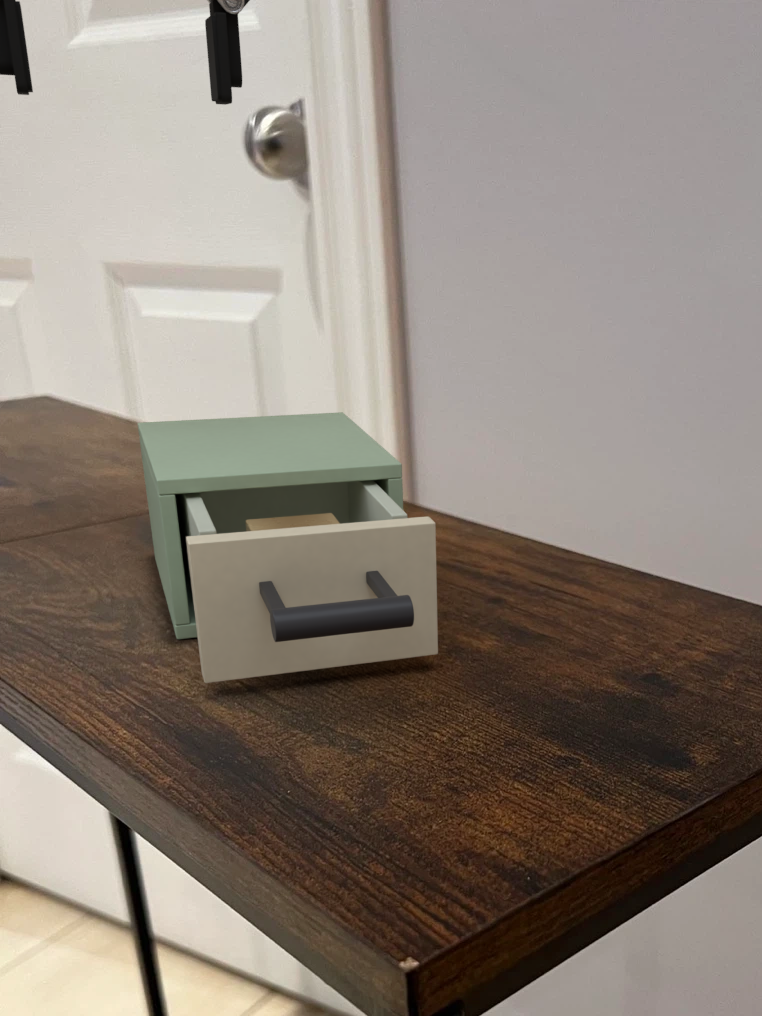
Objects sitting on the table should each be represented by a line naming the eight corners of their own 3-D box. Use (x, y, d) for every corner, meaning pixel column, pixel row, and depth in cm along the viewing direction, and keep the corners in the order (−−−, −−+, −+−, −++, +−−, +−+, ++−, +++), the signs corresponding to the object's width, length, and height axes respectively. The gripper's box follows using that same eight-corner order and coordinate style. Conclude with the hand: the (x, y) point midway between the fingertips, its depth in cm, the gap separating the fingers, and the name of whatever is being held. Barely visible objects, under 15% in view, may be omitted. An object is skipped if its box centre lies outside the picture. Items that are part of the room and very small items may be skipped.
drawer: (473, 699, 53) (473, 557, 50) (220, 735, 49) (203, 584, 46) (374, 572, 69) (369, 459, 66) (177, 591, 65) (162, 472, 62)
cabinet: (406, 614, 65) (402, 463, 61) (176, 640, 61) (156, 479, 57) (350, 541, 77) (343, 411, 74) (155, 558, 73) (137, 422, 69)
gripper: (261, -277, 58) (283, 109, 65) (-128, -339, 52) (-54, 92, 59) (286, -329, 51) (307, 105, 59) (-153, -405, 46) (-67, 86, 53)
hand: (126, 98), depth 59 cm, fingers open, 9 cm apart
